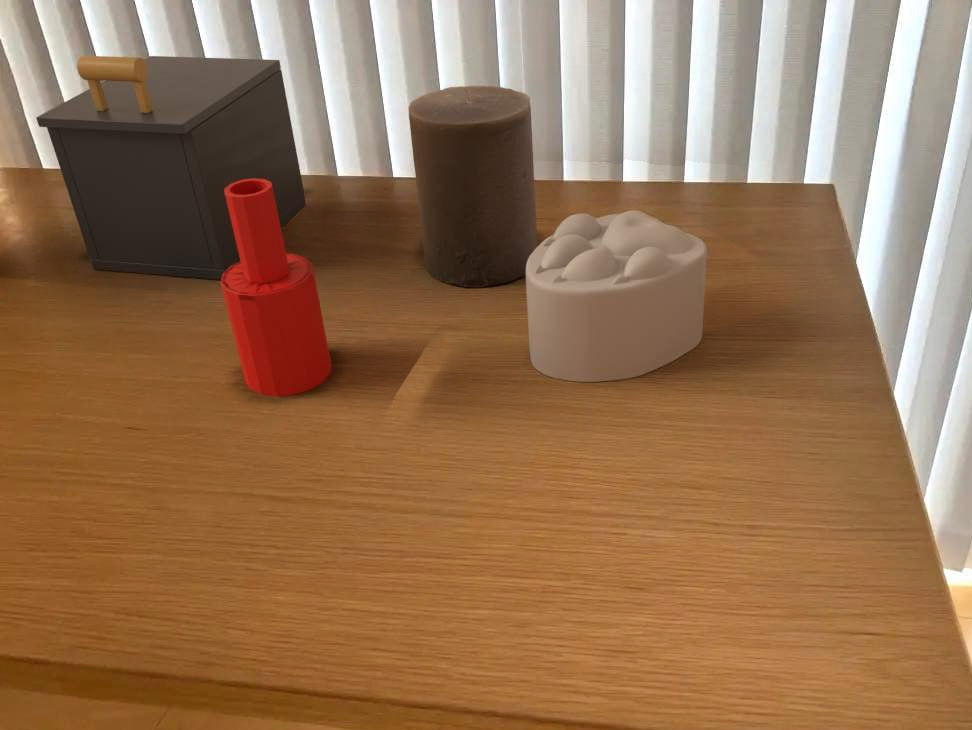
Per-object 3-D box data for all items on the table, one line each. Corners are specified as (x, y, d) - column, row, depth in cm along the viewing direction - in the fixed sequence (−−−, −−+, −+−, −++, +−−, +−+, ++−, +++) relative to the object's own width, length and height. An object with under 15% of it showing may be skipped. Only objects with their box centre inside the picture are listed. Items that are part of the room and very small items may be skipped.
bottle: (234, 405, 70) (181, 203, 61) (272, 360, 74) (228, 167, 66) (312, 414, 68) (270, 209, 60) (346, 368, 73) (311, 171, 64)
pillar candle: (455, 299, 81) (437, 116, 72) (408, 254, 88) (386, 82, 79) (560, 268, 85) (554, 90, 76) (506, 227, 92) (495, 60, 83)
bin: (227, 281, 85) (190, 131, 78) (93, 269, 88) (45, 124, 81) (306, 204, 98) (281, 69, 90) (186, 196, 101) (153, 64, 93)
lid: (185, 134, 77) (168, 68, 74) (38, 127, 80) (17, 63, 77) (281, 68, 90) (270, 10, 87) (152, 64, 93) (138, 8, 90)
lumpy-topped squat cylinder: (721, 337, 74) (729, 229, 70) (586, 403, 68) (584, 290, 63) (627, 287, 81) (628, 186, 76) (497, 343, 75) (489, 237, 70)
